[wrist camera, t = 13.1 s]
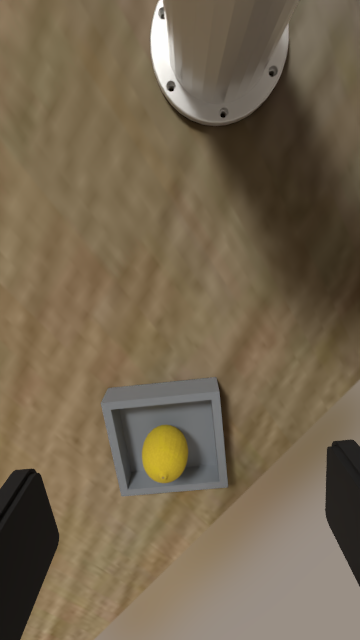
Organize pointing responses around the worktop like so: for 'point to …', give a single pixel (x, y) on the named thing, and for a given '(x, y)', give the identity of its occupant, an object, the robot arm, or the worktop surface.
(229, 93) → the robot arm
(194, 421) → the box
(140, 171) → the worktop surface
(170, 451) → the lemon
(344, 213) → the worktop surface
